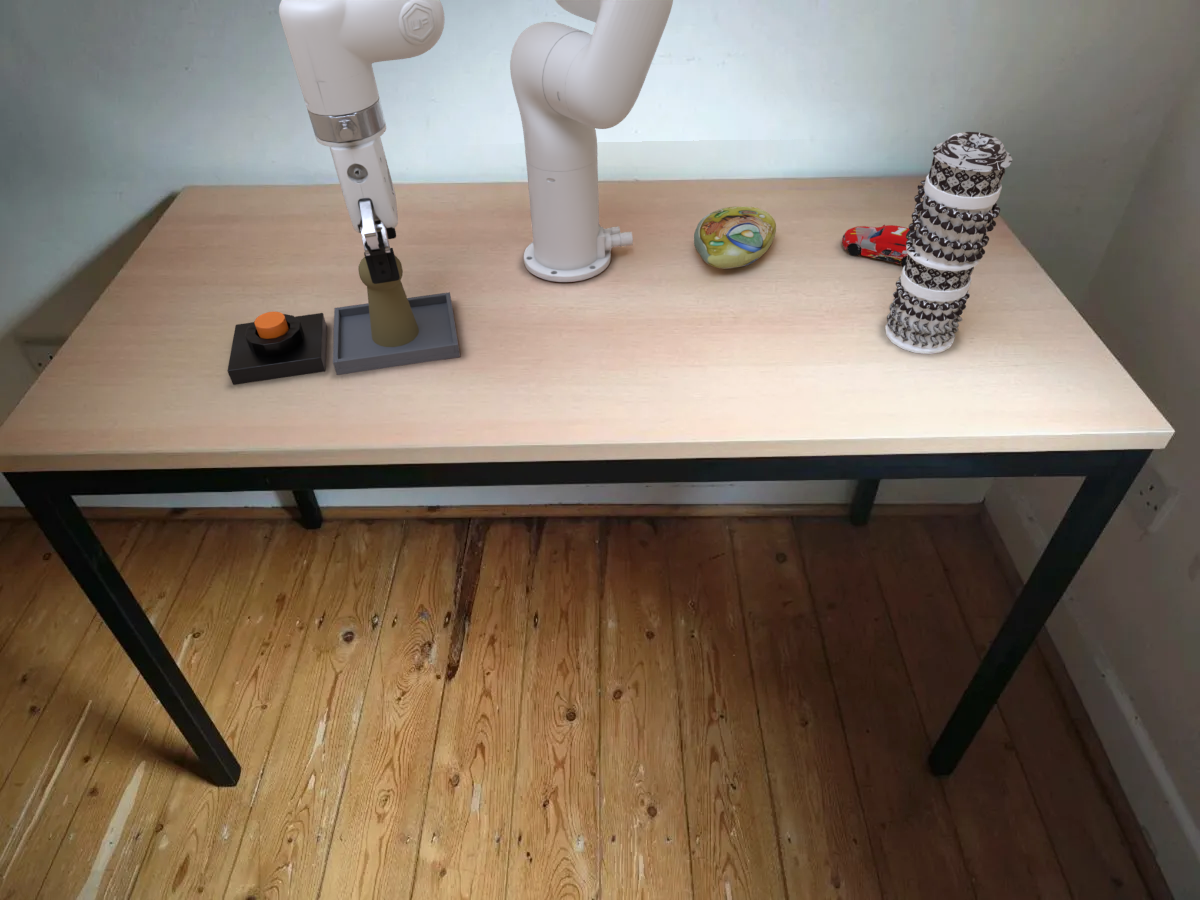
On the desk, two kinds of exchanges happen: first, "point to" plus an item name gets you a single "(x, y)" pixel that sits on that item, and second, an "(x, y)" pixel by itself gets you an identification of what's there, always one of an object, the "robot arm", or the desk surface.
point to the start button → (271, 325)
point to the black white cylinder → (946, 241)
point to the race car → (878, 242)
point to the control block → (279, 350)
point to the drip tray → (430, 345)
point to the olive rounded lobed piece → (389, 310)
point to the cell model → (734, 236)
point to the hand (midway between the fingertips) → (385, 259)
